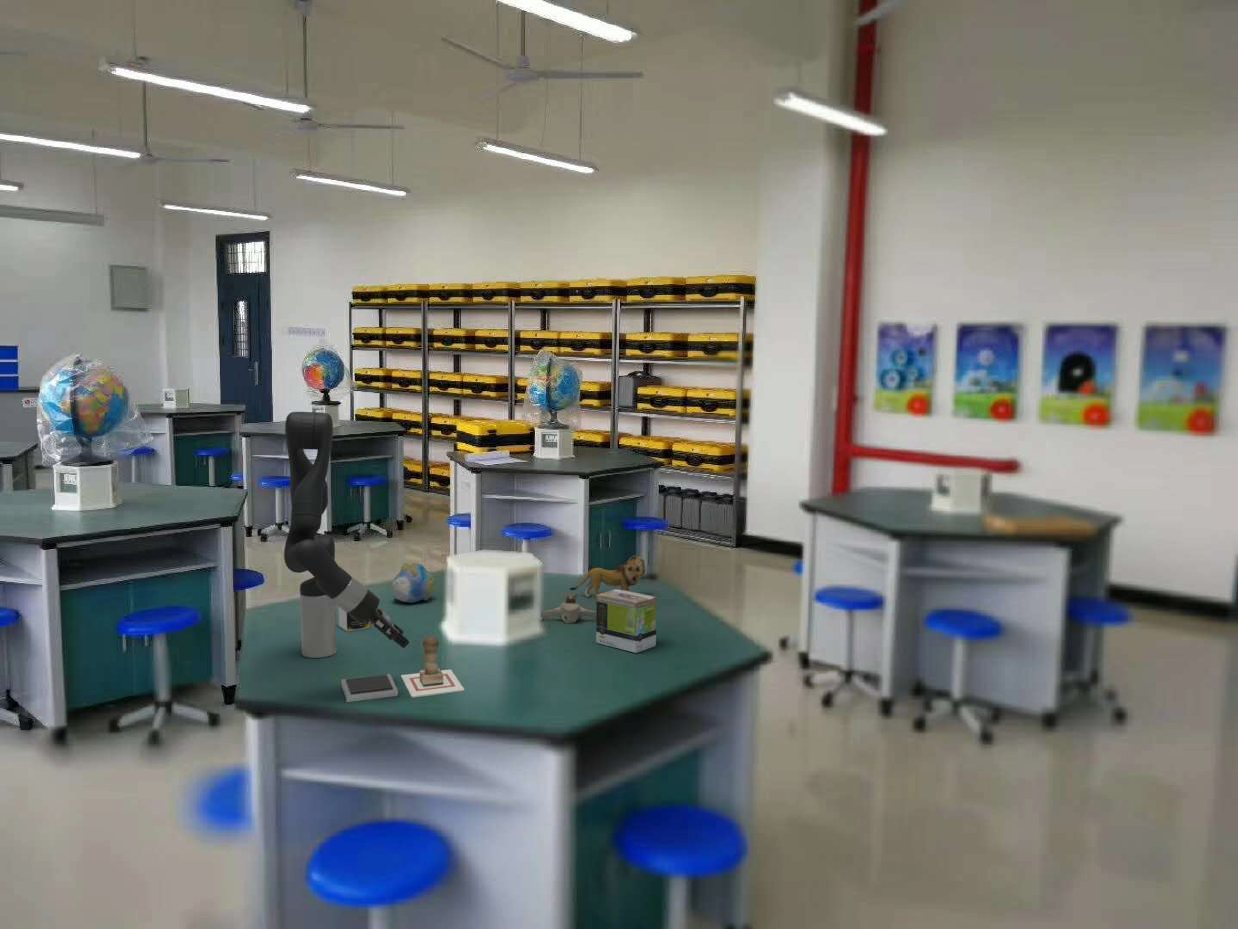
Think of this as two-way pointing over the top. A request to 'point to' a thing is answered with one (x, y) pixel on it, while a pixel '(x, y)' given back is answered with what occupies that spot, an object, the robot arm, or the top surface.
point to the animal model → (615, 576)
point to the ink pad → (369, 688)
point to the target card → (418, 690)
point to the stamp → (431, 664)
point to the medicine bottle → (351, 622)
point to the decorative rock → (413, 583)
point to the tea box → (626, 620)
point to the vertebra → (569, 610)
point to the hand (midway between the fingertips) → (403, 639)
